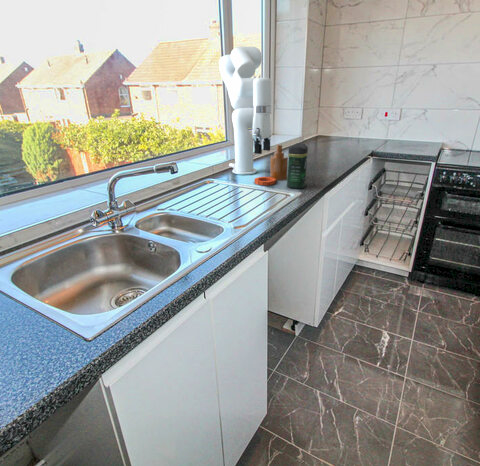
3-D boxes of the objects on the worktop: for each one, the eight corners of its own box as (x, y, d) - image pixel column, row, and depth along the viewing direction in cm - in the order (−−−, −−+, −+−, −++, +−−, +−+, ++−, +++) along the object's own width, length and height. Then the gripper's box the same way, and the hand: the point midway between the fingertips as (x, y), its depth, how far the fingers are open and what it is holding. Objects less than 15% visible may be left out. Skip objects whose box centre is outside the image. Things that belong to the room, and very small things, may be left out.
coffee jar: (302, 190, 142) (305, 146, 135) (285, 188, 145) (286, 145, 137) (307, 184, 150) (309, 142, 143) (290, 183, 153) (292, 142, 145)
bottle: (267, 179, 159) (267, 145, 153) (273, 175, 166) (274, 143, 160) (283, 181, 156) (284, 146, 149) (289, 177, 163) (290, 144, 156)
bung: (251, 184, 152) (251, 180, 151) (259, 179, 160) (259, 175, 159) (270, 186, 148) (271, 182, 147) (278, 181, 156) (278, 177, 155)
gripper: (262, 109, 146) (262, 148, 153) (245, 111, 132) (246, 154, 138) (277, 109, 143) (277, 149, 150) (262, 111, 129) (262, 155, 135)
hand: (262, 151), depth 144 cm, fingers open, 9 cm apart
